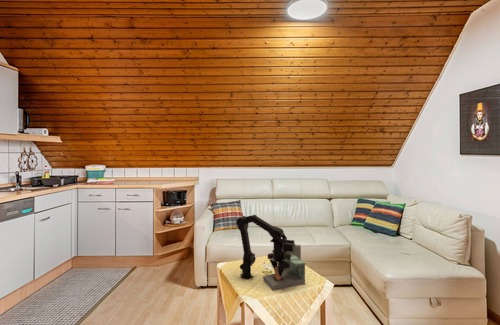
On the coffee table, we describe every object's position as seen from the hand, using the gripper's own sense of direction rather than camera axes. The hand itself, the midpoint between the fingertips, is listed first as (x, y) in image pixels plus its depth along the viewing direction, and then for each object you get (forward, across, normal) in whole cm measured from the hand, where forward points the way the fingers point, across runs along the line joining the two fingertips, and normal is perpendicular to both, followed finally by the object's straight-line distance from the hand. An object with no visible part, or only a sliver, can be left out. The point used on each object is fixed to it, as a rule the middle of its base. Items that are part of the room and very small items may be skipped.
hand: (278, 273), depth 176 cm
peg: (+6, 0, 0) cm, 6 cm away
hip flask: (+6, +12, -15) cm, 20 cm away
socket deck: (+6, 0, -4) cm, 7 cm away
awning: (+3, 0, -11) cm, 12 cm away
